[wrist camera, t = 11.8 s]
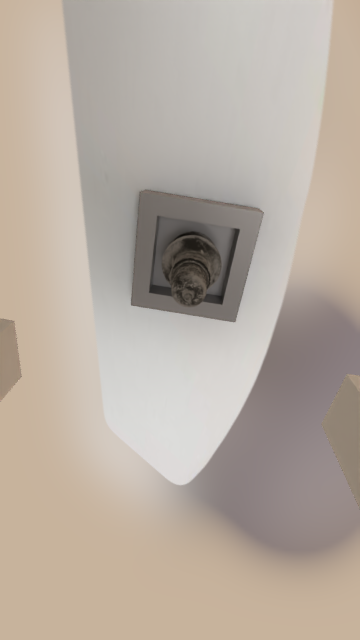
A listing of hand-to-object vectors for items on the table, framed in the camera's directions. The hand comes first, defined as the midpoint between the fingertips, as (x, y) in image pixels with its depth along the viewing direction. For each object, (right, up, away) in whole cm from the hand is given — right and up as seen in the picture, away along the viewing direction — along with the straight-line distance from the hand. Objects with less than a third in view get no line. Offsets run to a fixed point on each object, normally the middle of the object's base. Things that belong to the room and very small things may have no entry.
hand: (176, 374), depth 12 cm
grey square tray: (+2, +9, +21) cm, 23 cm away
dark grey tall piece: (+1, +9, +21) cm, 23 cm away
